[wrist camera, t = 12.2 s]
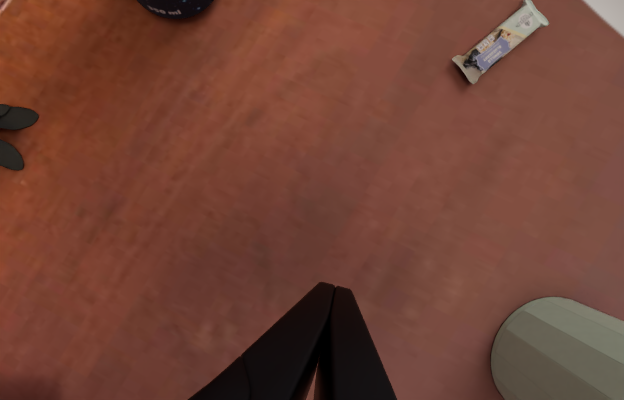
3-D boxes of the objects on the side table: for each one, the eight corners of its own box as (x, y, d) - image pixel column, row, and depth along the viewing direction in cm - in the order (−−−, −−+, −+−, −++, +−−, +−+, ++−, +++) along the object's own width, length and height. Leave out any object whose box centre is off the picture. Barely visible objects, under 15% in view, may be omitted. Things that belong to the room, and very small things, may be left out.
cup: (489, 420, 24) (609, 561, 15) (491, 298, 24) (617, 370, 15) (604, 412, 25) (784, 543, 16) (608, 294, 24) (797, 360, 15)
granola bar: (537, -11, 22) (561, 29, 22) (524, 0, 23) (547, 38, 23) (449, 43, 21) (474, 83, 21) (441, 51, 22) (464, 89, 22)
